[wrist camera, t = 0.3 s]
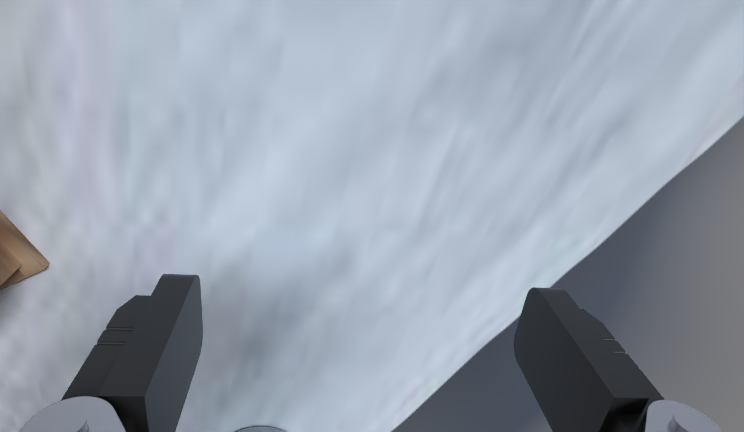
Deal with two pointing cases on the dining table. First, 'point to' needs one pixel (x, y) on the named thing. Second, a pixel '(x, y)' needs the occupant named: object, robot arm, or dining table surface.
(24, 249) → the flanged sleeve
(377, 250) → the dining table surface
